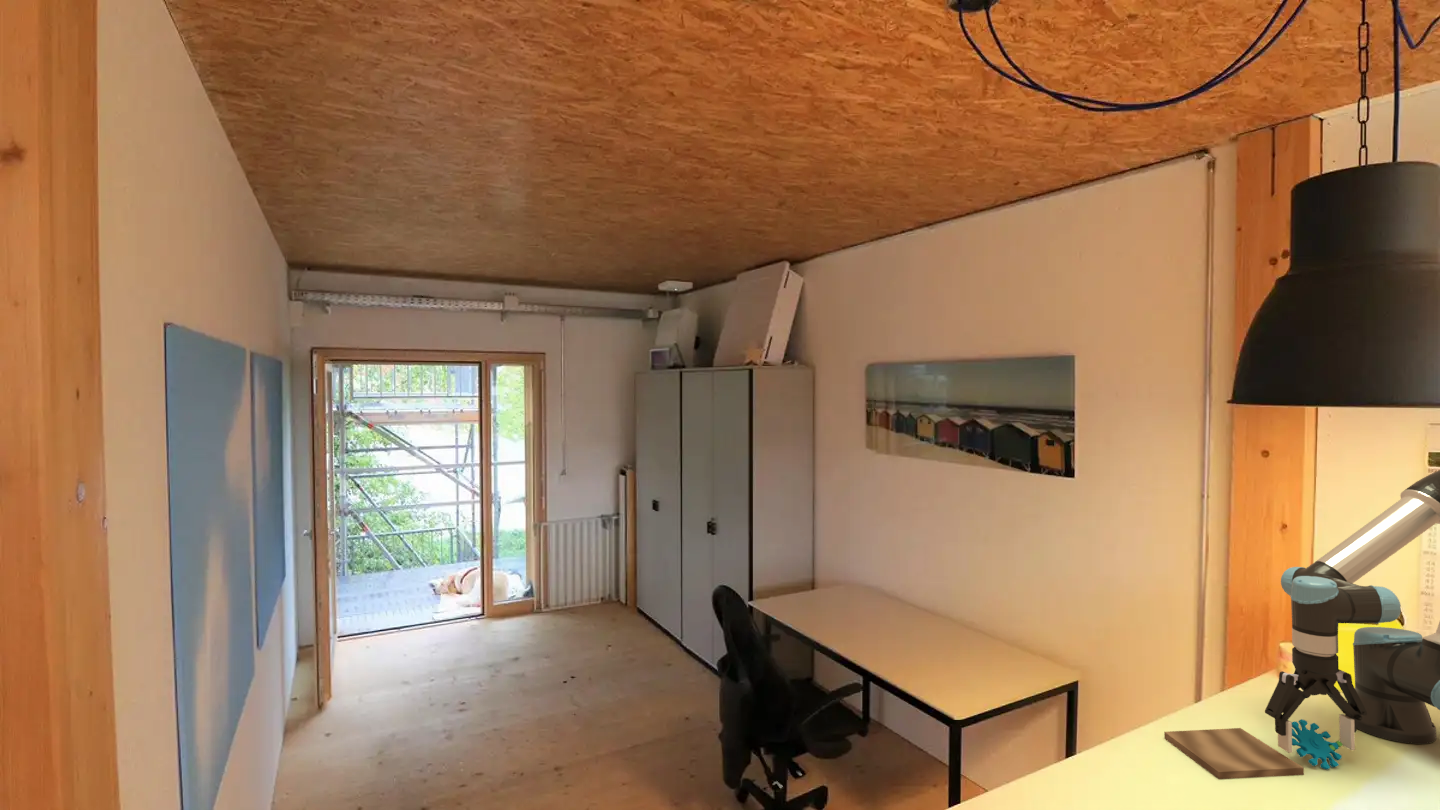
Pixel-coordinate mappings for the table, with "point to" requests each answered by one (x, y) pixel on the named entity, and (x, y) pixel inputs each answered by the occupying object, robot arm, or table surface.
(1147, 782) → the table surface
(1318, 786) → the table surface
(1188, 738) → the mount plate
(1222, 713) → the table surface
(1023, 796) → the table surface
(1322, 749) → the gear
